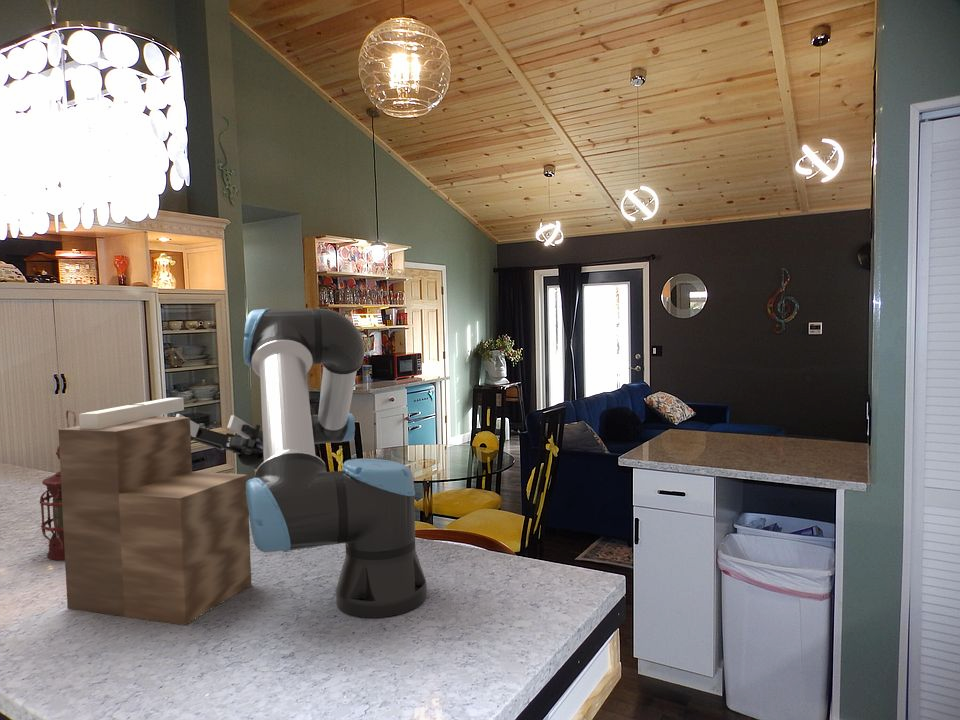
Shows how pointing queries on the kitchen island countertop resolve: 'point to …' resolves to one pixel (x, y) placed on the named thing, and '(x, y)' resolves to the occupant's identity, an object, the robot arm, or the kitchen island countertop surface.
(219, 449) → the robot arm
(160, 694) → the kitchen island countertop surface
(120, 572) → the two tier stand
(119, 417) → the domino bar
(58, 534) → the lantern
